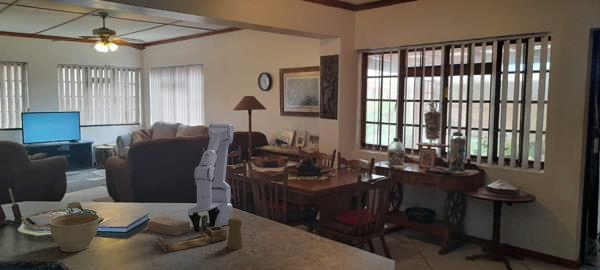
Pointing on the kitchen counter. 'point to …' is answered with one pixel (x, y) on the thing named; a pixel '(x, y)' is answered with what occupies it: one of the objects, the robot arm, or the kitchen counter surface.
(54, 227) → the planter bowl
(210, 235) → the walnut gauge block
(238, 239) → the cork
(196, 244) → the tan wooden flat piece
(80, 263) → the kitchen counter surface
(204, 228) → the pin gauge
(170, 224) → the brick
